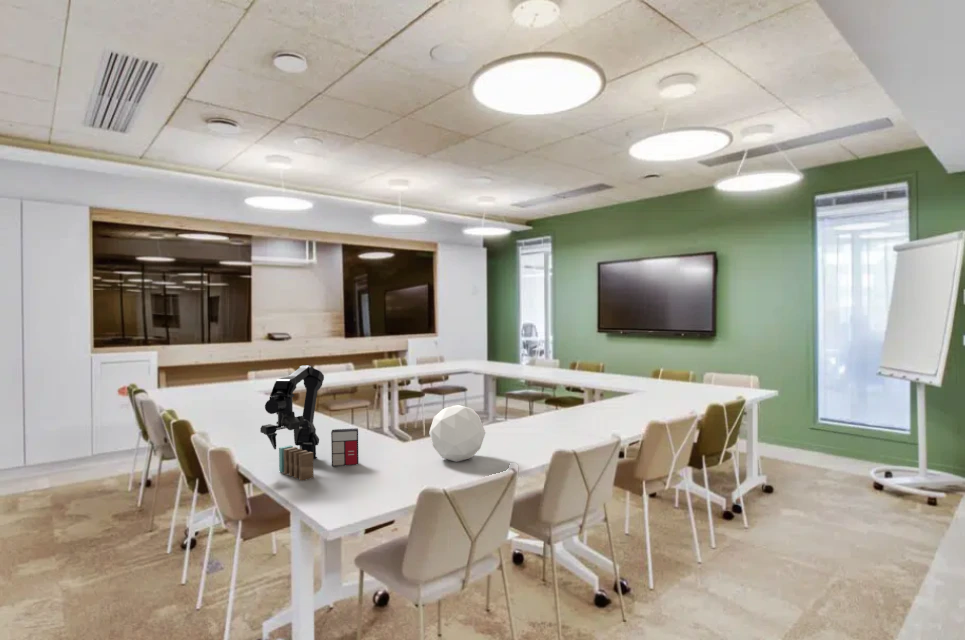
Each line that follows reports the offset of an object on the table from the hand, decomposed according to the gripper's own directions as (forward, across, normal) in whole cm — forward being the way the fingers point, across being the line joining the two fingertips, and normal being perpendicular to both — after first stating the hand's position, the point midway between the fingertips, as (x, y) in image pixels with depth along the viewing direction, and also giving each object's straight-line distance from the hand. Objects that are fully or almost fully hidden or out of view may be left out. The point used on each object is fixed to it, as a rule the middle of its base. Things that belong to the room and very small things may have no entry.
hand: (285, 447), depth 218 cm
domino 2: (+10, 0, -4) cm, 11 cm away
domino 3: (+10, 0, -8) cm, 13 cm away
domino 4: (+10, 0, -12) cm, 16 cm away
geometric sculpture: (+10, +58, -42) cm, 73 cm away
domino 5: (+10, 0, -16) cm, 19 cm away
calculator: (+10, +21, -11) cm, 26 cm away
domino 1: (+10, 0, 0) cm, 10 cm away
